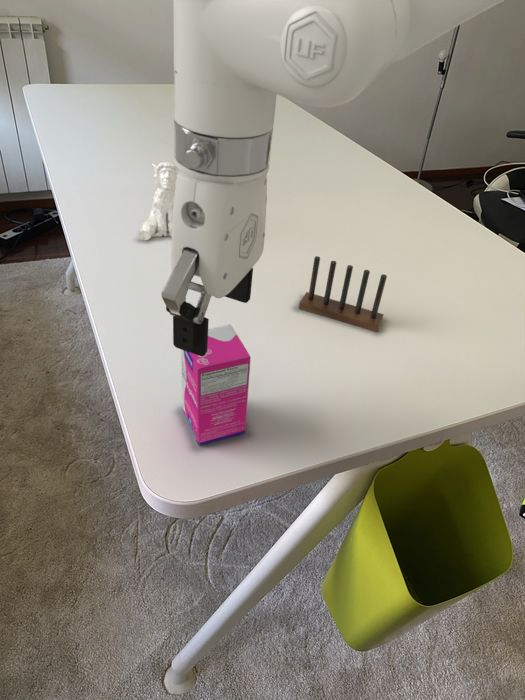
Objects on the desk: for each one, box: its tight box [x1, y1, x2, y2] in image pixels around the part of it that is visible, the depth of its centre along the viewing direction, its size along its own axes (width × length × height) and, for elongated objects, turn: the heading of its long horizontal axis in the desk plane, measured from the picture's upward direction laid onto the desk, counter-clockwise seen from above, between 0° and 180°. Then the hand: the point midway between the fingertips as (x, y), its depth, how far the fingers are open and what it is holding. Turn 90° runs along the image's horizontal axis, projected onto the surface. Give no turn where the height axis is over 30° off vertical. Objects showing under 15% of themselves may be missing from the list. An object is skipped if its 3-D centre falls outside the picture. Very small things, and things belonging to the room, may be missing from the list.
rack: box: [298, 255, 388, 333], centre depth 79 cm, size 12×3×8 cm, turn 68°
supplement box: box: [180, 324, 252, 446], centre depth 59 cm, size 6×6×12 cm
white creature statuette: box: [138, 161, 179, 241], centre depth 94 cm, size 10×9×12 cm
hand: (214, 322), depth 54 cm, fingers open, 9 cm apart
